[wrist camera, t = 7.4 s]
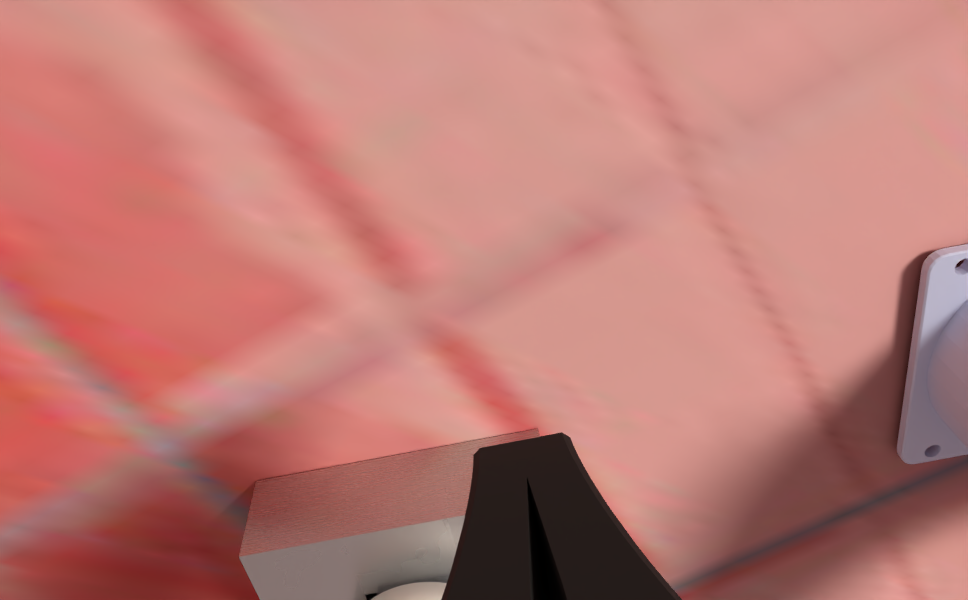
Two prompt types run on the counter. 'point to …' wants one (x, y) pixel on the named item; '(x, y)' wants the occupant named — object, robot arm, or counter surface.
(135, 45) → the counter surface
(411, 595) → the button ivory
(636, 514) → the counter surface
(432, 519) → the panel
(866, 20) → the counter surface
